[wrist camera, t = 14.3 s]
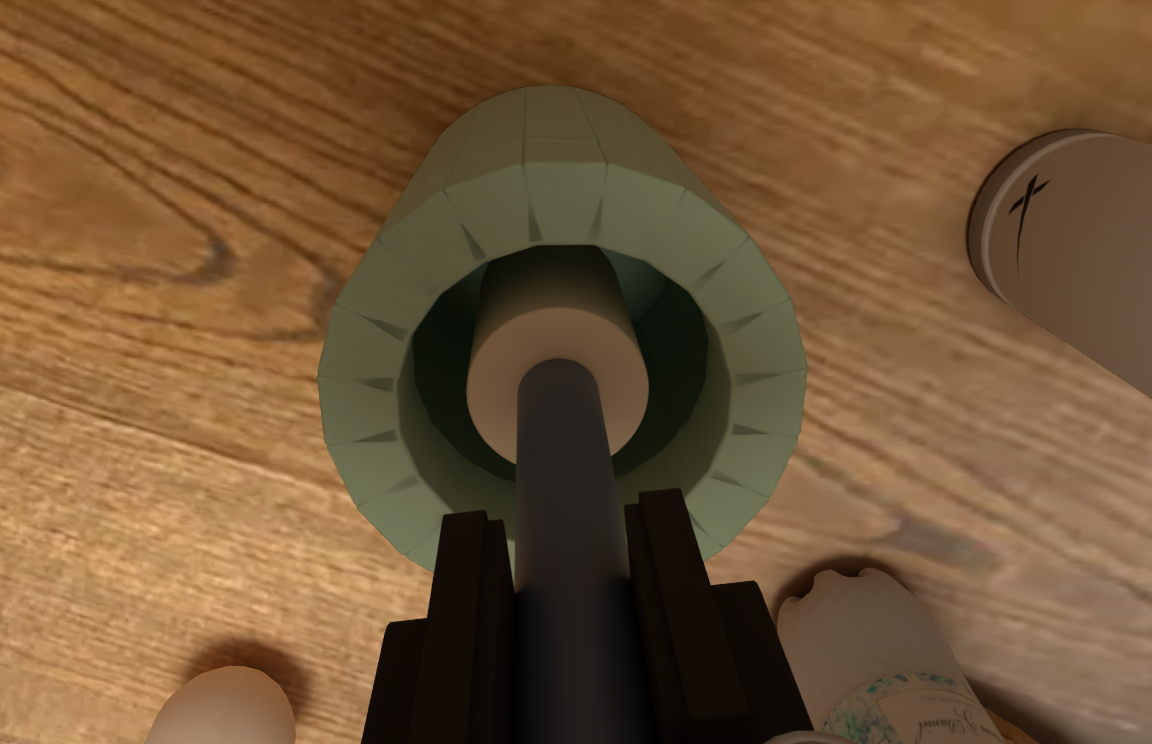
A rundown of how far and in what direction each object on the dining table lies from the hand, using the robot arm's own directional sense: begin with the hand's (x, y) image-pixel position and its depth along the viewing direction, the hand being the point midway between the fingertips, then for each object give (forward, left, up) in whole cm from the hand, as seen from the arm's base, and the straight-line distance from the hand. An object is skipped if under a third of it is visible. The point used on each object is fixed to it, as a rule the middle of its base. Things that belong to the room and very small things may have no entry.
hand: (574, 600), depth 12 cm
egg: (+8, -21, -20) cm, 31 cm away
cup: (0, 0, -20) cm, 20 cm away
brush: (0, 0, -13) cm, 13 cm away
